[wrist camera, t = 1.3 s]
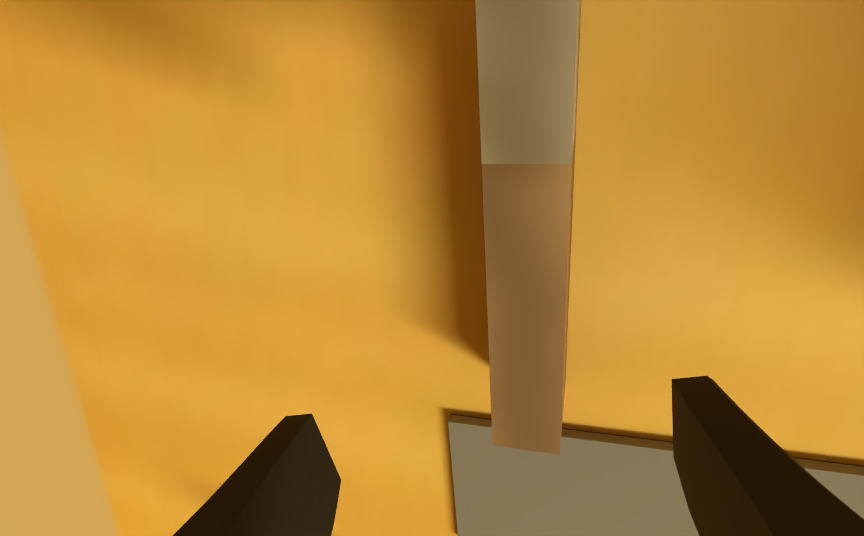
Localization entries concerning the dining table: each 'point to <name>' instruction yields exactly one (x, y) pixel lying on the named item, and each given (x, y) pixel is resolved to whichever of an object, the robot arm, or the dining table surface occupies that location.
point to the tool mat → (587, 485)
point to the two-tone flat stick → (527, 209)
